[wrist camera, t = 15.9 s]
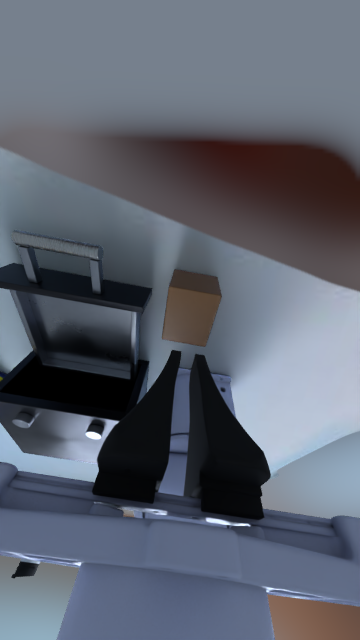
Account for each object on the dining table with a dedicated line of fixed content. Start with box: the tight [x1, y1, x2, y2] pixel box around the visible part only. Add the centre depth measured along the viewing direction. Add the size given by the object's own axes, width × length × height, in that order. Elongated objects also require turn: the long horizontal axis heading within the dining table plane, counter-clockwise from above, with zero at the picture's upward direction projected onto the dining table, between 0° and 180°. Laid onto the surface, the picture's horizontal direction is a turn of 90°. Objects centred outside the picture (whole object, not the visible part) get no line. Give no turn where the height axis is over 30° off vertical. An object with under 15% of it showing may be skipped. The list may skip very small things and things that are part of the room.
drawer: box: [0, 230, 152, 382], centre depth 21 cm, size 15×18×4 cm
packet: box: [162, 269, 222, 347], centre depth 19 cm, size 5×6×4 cm
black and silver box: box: [0, 351, 149, 464], centre depth 27 cm, size 16×14×10 cm
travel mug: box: [12, 559, 40, 578], centre depth 69 cm, size 6×7×20 cm
